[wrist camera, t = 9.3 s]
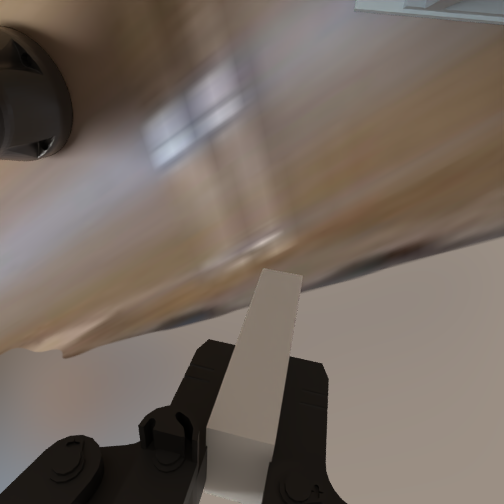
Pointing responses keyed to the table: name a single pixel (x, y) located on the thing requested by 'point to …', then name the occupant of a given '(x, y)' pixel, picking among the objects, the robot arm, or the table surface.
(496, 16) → the tunnel deck
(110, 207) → the table surface
